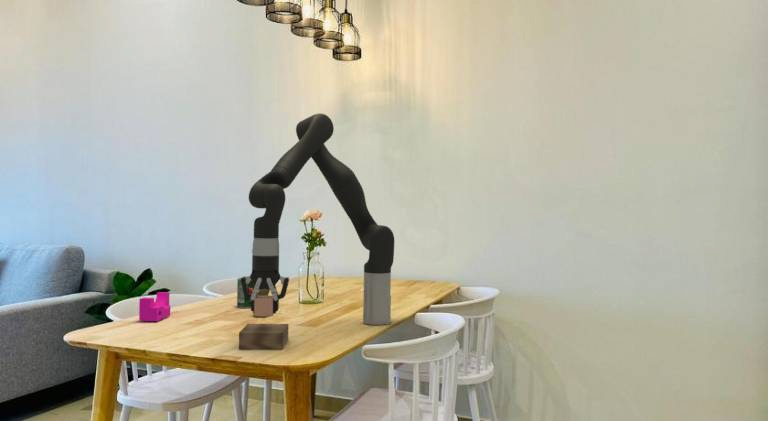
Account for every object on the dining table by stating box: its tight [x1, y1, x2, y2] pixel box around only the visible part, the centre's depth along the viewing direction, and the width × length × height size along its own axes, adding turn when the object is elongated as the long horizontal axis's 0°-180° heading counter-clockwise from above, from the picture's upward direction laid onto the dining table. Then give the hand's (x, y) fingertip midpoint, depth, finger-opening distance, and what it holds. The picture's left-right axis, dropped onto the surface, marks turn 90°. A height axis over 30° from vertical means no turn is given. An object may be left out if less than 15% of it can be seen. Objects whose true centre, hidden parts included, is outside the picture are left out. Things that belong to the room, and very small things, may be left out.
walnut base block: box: [238, 323, 289, 351], centre depth 159 cm, size 12×12×5 cm
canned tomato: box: [236, 277, 255, 309], centre depth 219 cm, size 8×8×11 cm
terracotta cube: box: [253, 295, 274, 317], centre depth 159 cm, size 5×5×5 cm
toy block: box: [138, 291, 171, 322], centre depth 197 cm, size 15×6×8 cm, turn 177°
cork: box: [252, 289, 271, 318], centre depth 201 cm, size 6×6×11 cm
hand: (264, 312), depth 159 cm, fingers closed on terracotta cube, 5 cm apart
